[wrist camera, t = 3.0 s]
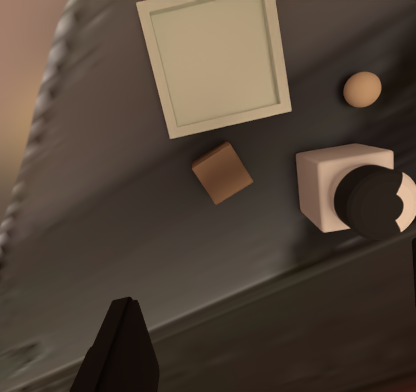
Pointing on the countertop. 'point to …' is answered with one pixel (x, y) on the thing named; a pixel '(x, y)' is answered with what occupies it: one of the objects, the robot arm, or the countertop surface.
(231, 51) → the tray
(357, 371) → the countertop surface
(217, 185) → the walnut block
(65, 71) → the countertop surface
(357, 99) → the cork ball
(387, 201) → the medicine bottle
